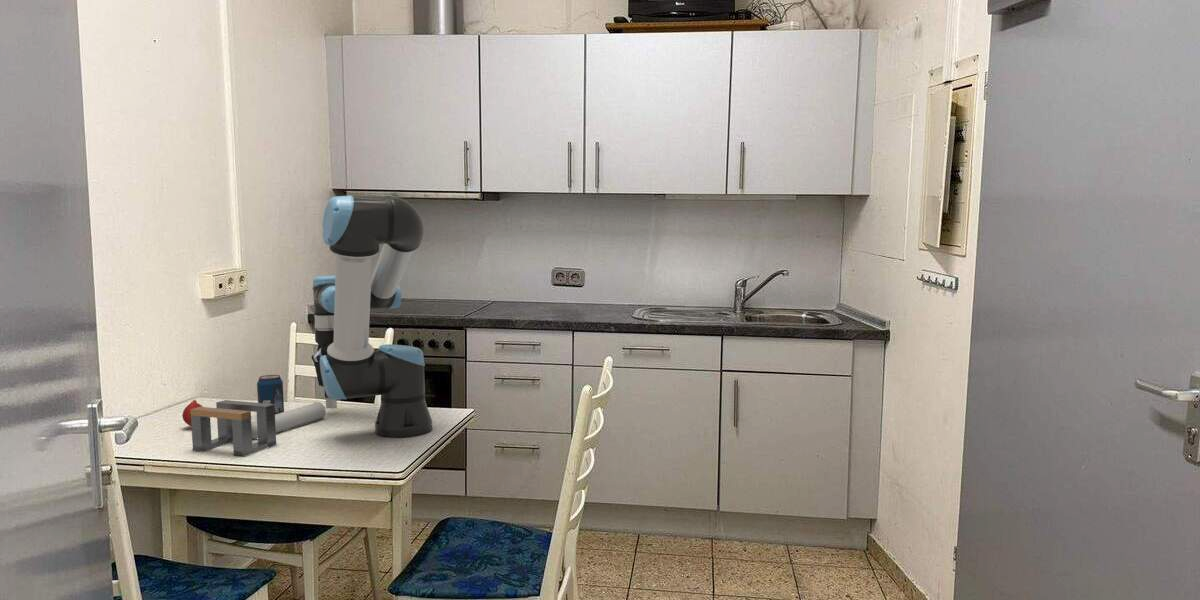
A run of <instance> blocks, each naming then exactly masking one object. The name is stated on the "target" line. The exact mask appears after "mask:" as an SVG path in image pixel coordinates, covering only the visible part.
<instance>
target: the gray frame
mask: <svg viewBox="0 0 1200 600" xmlns="http://www.w3.org/2000/svg"><path fill="white" fill-rule="evenodd" d="M215 405H216V406H215V407H207V406H203V407H197V408H194V409H191V426H192V427H191V426H190V427H191V438H192V439H191V440H192V444H191V445H192V451H193V450H195V451H194V452H199V451H203V452H206V451H210V450H211V449H215V448H218V447H221V446H224V445H226V444H227V445H228V444H229V442H230V443H232V444H233V445H232V449H233V456H234V457H235V456H236V457H242V456H243V457H246V455H247V456H249V454H250V455H252V454H255V453H257V451H258V452H260V451H259V450H261V451H263V450H265V448H266V449H268V448H267V447H269V448H271V447H270V446H272V447H274V446H276V445H277V433H276V426H275V405H274V404H266V403H258V402H251V401H241V400H229V399H224V400H220V401H216V404H215ZM251 412H254V413H256V420H257V431H258V439H257V442H254V443H253V439H252V427H251V422H252V413H251ZM211 418H214V419H216V423H217V438H213V439H212V429H211V424H212V423H211ZM232 441H233V442H232ZM223 444H224V445H223ZM275 444H276V445H275ZM220 445H221V446H220ZM273 445H274V446H273ZM217 446H218V447H217ZM262 449H263V450H262ZM205 450H206V451H205ZM254 452H255V453H254ZM251 453H252V454H251Z"/></svg>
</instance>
